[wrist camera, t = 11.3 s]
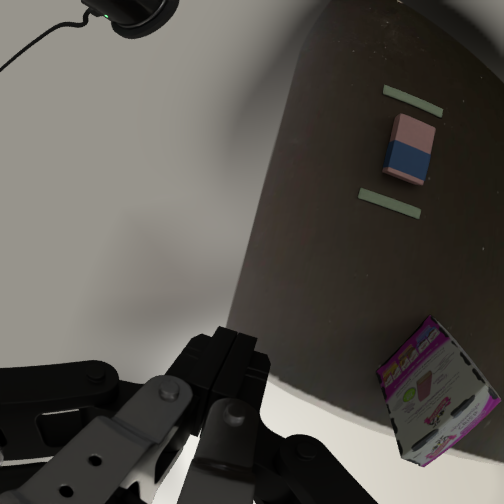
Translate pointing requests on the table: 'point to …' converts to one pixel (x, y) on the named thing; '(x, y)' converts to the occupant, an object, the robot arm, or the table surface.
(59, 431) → the robot arm
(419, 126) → the eraser
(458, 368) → the candy bar box
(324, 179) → the table surface
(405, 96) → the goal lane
